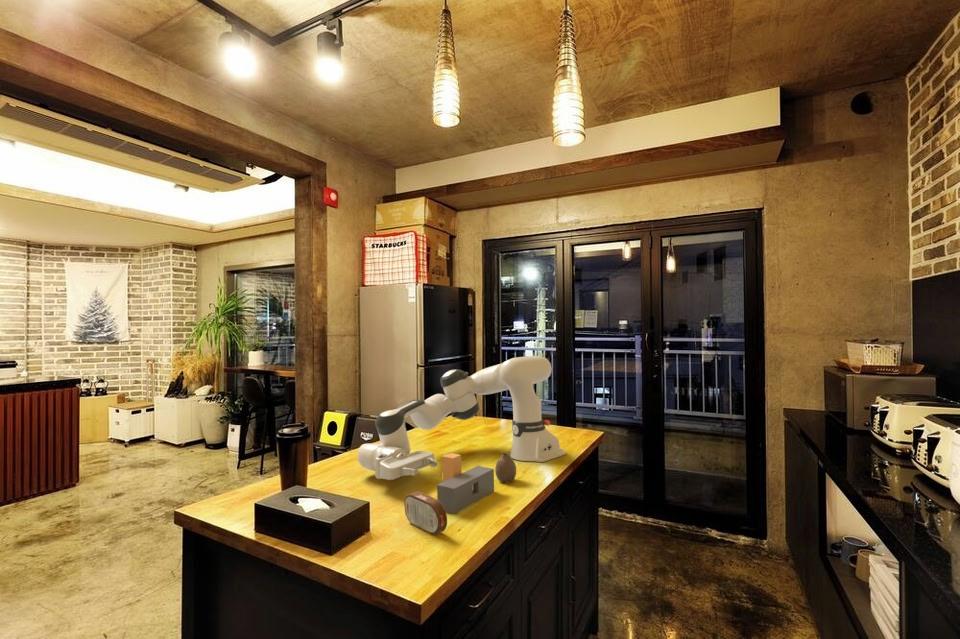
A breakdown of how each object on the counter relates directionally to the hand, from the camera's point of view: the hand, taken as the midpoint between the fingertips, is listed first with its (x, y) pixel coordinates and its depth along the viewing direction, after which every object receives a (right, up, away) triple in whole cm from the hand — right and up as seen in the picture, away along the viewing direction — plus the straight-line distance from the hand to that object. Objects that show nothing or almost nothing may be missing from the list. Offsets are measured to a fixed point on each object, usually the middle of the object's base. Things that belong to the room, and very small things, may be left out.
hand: (426, 468), depth 141 cm
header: (+13, -7, -9) cm, 17 cm away
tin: (+3, -7, -27) cm, 28 cm away
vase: (+26, -7, +7) cm, 27 cm away
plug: (+11, -6, -7) cm, 14 cm away
